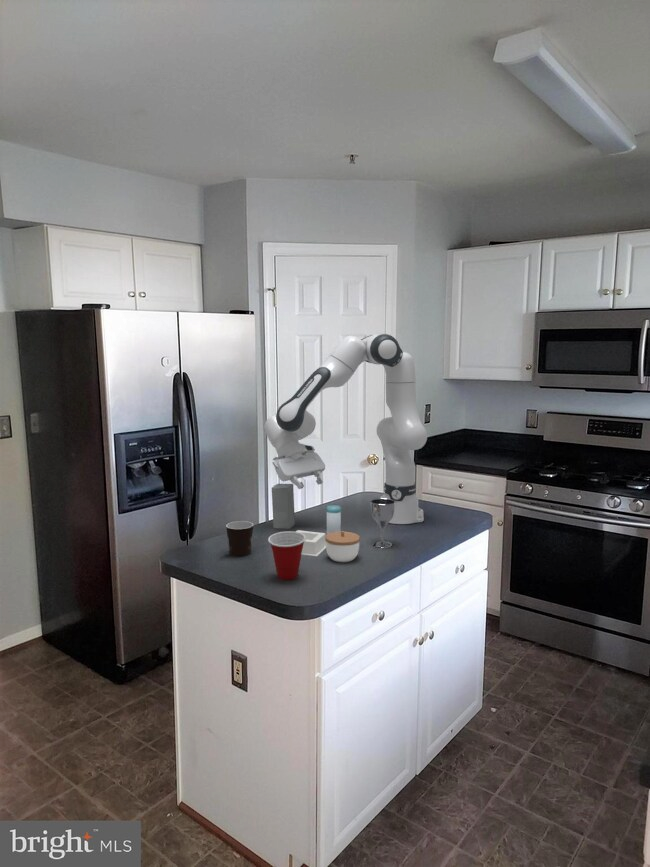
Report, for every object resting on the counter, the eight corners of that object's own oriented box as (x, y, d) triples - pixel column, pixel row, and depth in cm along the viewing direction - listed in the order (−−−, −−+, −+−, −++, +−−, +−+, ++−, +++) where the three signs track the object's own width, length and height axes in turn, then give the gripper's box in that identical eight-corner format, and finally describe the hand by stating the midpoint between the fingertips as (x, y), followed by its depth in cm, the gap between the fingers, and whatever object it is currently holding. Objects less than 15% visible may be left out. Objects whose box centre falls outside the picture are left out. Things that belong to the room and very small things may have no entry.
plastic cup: (261, 580, 173) (260, 539, 171) (279, 567, 183) (279, 529, 181) (295, 586, 169) (295, 545, 167) (312, 573, 179) (312, 533, 177)
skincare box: (290, 531, 219) (289, 488, 216) (270, 529, 220) (270, 487, 218) (295, 524, 227) (295, 482, 224) (277, 523, 228) (277, 482, 226)
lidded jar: (351, 553, 196) (351, 524, 195) (365, 564, 186) (365, 534, 185) (320, 556, 192) (320, 528, 191) (332, 568, 182) (332, 538, 181)
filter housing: (295, 542, 206) (295, 529, 205) (329, 546, 202) (329, 532, 201) (281, 554, 195) (281, 539, 194) (317, 558, 191) (317, 543, 190)
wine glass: (377, 539, 210) (378, 497, 207) (398, 543, 205) (399, 500, 203) (365, 545, 203) (366, 501, 201) (386, 550, 199) (387, 505, 196)
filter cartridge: (329, 538, 211) (329, 504, 209) (342, 539, 209) (342, 505, 207) (324, 542, 206) (324, 508, 204) (338, 543, 205) (338, 509, 203)
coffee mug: (246, 561, 188) (245, 530, 186) (221, 558, 191) (220, 527, 189) (262, 549, 199) (262, 520, 197) (239, 546, 202) (238, 517, 200)
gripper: (274, 452, 208) (293, 485, 203) (316, 445, 223) (335, 475, 218) (266, 463, 212) (285, 495, 207) (307, 456, 227) (326, 486, 221)
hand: (311, 485), depth 212 cm, fingers open, 8 cm apart
